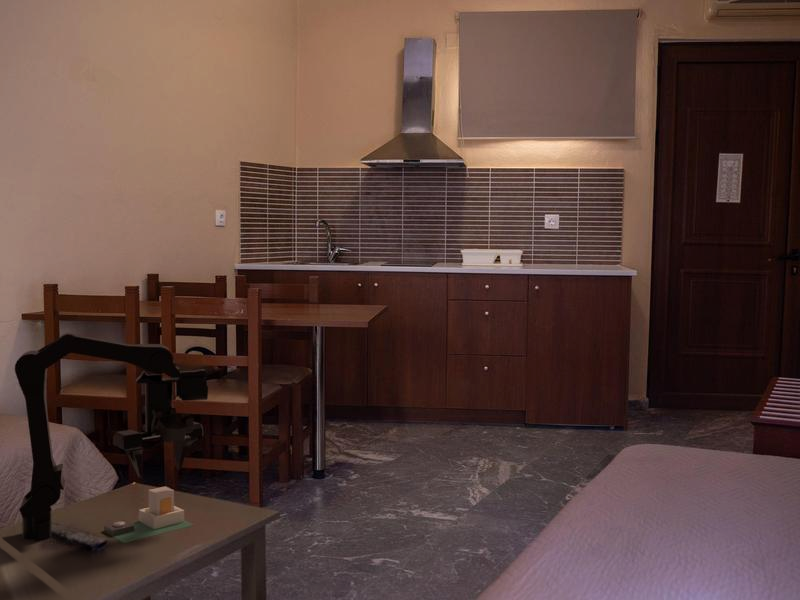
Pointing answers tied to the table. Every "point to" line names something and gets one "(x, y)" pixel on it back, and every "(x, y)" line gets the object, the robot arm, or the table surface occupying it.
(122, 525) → the push button
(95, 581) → the table surface
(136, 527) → the header board
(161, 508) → the plug
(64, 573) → the table surface
